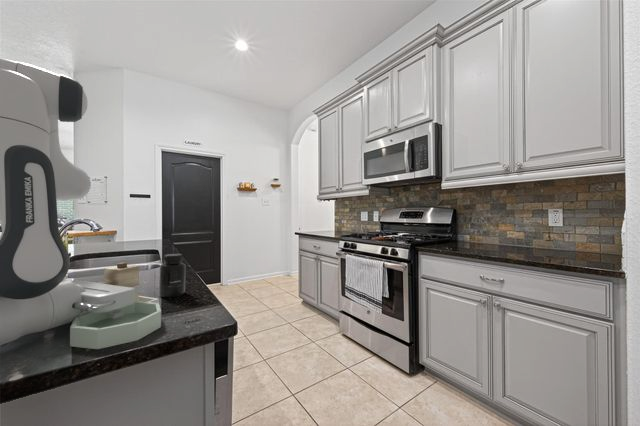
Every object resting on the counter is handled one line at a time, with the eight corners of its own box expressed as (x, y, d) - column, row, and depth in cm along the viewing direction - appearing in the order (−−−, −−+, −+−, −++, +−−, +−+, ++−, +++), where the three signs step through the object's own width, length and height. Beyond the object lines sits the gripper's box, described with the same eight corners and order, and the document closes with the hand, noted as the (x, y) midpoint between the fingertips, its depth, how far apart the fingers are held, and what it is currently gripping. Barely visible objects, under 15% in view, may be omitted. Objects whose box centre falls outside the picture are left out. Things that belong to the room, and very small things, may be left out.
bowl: (79, 326, 57) (79, 310, 57) (157, 312, 65) (157, 298, 65) (65, 356, 45) (65, 336, 45) (162, 334, 54) (163, 317, 54)
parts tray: (80, 316, 62) (80, 307, 62) (128, 301, 73) (128, 294, 73) (113, 323, 59) (113, 314, 59) (158, 306, 69) (158, 298, 69)
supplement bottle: (173, 299, 75) (174, 257, 75) (153, 297, 77) (153, 256, 77) (190, 291, 82) (190, 253, 82) (171, 290, 83) (171, 252, 83)
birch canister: (103, 313, 64) (104, 264, 64) (124, 306, 69) (125, 260, 69) (118, 316, 63) (118, 265, 63) (138, 309, 67) (139, 262, 67)
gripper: (93, 293, 51) (157, 277, 64) (29, 283, 57) (100, 270, 70) (92, 326, 51) (157, 303, 64) (29, 312, 57) (99, 293, 70)
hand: (127, 285), depth 67 cm, fingers open, 8 cm apart
